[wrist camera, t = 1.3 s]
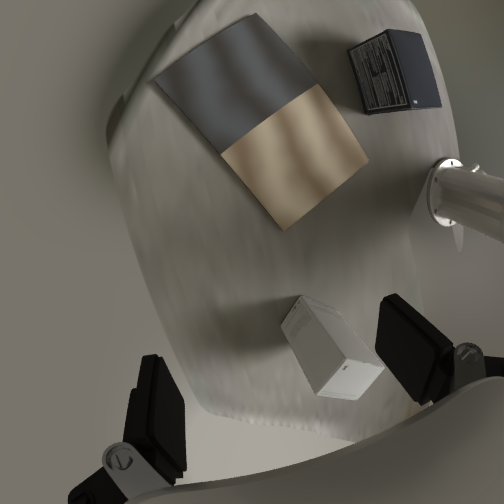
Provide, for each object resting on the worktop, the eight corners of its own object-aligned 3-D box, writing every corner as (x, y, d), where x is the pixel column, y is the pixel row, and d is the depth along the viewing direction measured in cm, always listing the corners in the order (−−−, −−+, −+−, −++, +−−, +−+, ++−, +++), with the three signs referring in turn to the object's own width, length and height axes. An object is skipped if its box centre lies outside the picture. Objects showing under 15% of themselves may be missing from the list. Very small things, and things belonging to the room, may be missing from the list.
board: (254, 15, 27) (256, 12, 26) (365, 160, 36) (369, 161, 36) (155, 81, 28) (153, 79, 27) (281, 229, 38) (284, 231, 37)
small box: (397, 111, 35) (445, 109, 25) (364, 115, 34) (411, 111, 24) (379, 49, 30) (423, 32, 21) (345, 49, 30) (386, 27, 20)
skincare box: (278, 324, 44) (310, 396, 29) (301, 291, 42) (345, 357, 28) (317, 338, 46) (355, 403, 32) (339, 308, 45) (387, 368, 30)
